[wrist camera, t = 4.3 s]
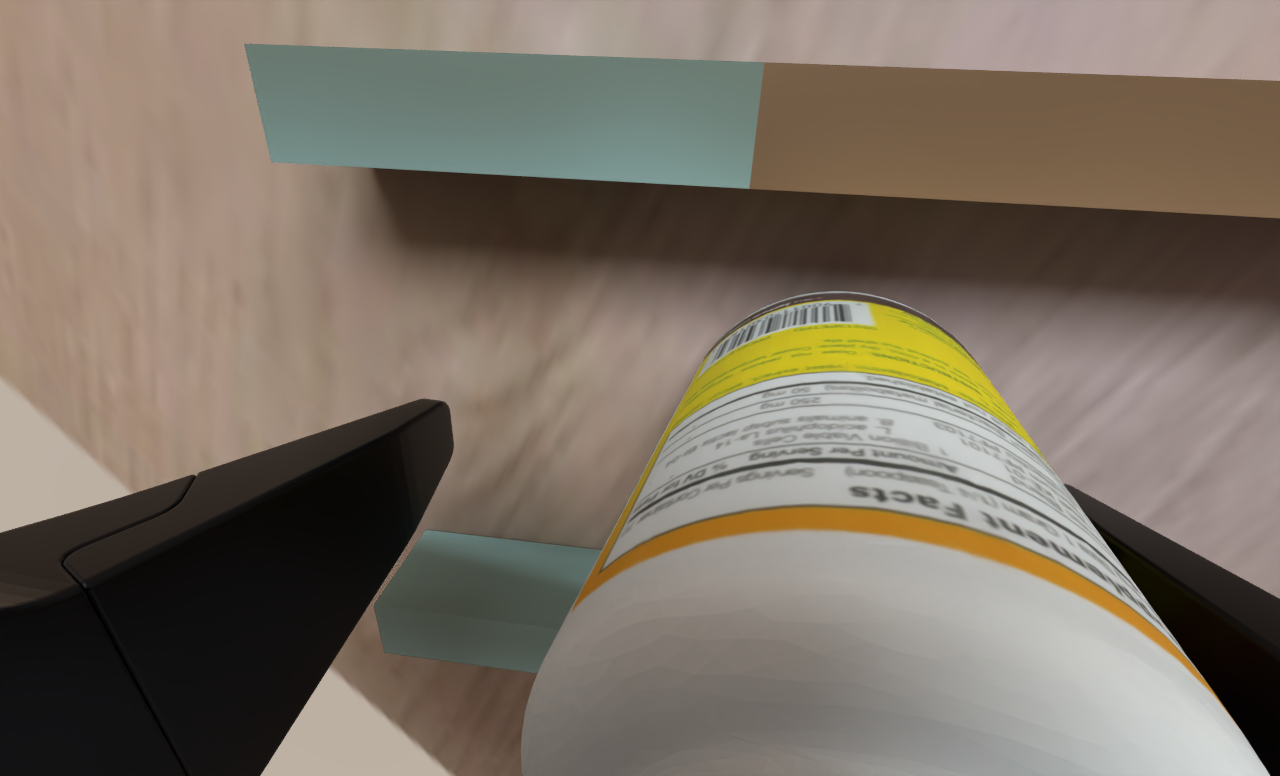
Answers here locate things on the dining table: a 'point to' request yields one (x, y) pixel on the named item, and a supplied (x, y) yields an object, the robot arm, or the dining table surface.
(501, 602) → the bay
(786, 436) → the supplement bottle
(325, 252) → the dining table surface
